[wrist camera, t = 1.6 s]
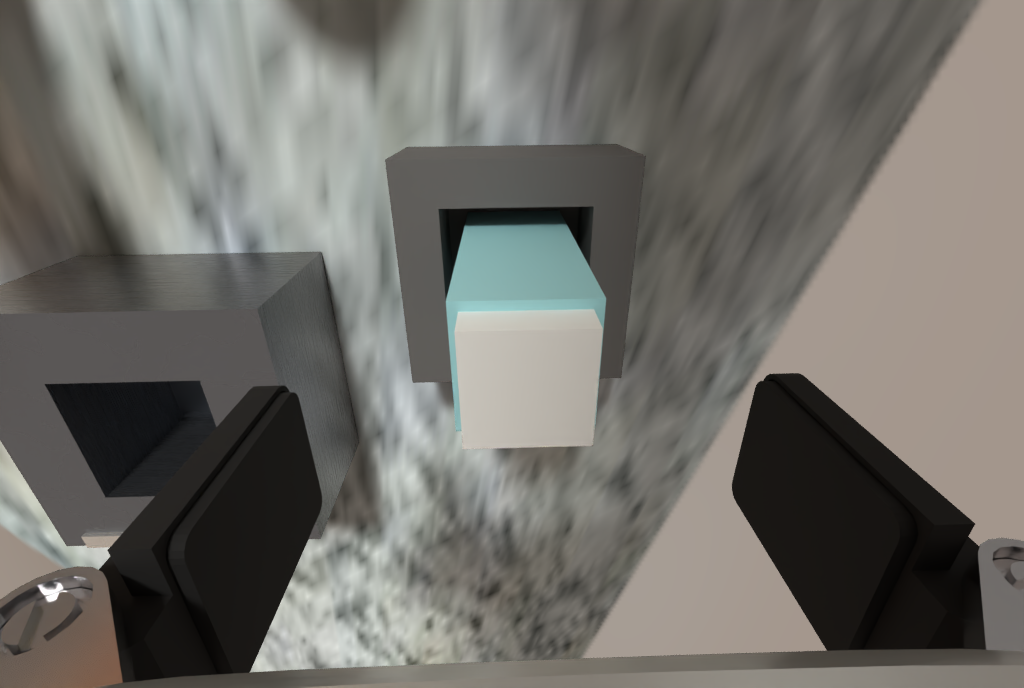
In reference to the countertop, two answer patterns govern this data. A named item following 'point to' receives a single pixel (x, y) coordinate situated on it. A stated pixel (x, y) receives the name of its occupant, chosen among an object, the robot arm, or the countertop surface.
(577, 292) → the plug
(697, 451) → the countertop surface
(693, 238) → the countertop surface
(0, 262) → the countertop surface
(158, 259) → the port block
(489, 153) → the grey square socket
